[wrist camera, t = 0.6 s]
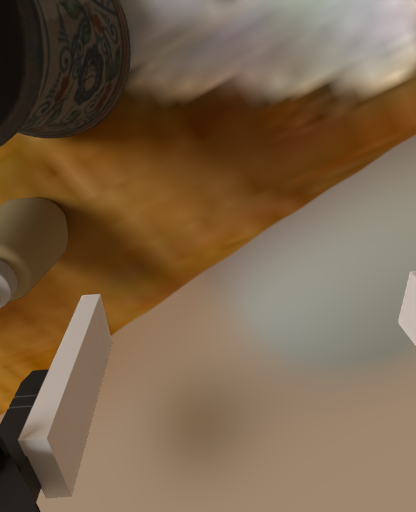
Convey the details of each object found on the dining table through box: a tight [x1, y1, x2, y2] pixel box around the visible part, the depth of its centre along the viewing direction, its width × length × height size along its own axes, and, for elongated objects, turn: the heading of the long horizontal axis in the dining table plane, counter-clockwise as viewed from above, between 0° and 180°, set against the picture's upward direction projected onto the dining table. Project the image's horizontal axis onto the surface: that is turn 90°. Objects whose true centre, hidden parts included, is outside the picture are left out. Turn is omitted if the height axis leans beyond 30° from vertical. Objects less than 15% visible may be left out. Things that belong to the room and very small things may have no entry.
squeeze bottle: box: [0, 197, 68, 308], centre depth 36 cm, size 8×8×18 cm
